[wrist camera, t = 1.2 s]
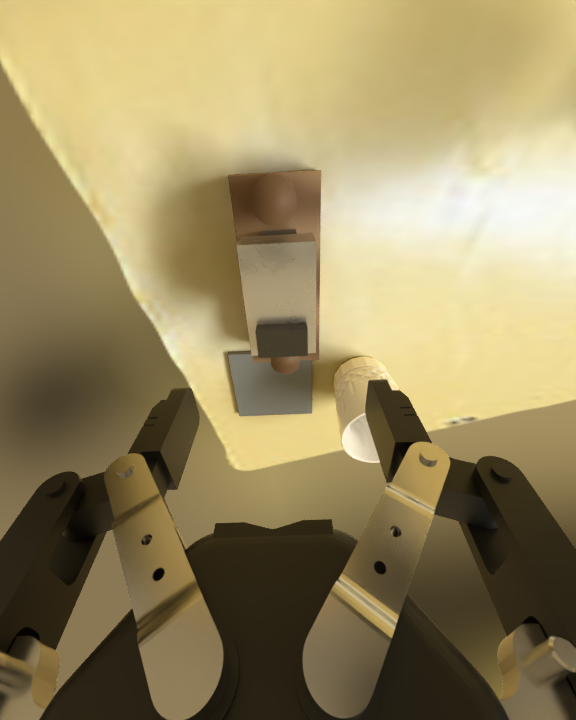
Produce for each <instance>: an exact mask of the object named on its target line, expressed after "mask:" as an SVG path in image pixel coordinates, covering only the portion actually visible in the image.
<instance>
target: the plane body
mask: <svg viewBox="0 0 576 720" xmlns="http://www.w3.org/2000/svg"><path fill="white" fill-rule="evenodd" d="M228 179H229V186H230V193H231V201H232V208H233V215H234V223H235V230H236V238H237V244H238V242H239V240H240V239H241V237H247V236H266V235H285V234H304V233H313V234H314V237H315V239H316V353H308V356H296V357H273V358H258V356H253V363H254V362H271V366H272V368H273V369H274V370H275V371H276V372H278V373H281V374H290V373H292V372H294V371H296V370H297V368H298V367H299V364H300V360H319V296H320V206H321V170H306V171H288V172H271V173H253V174H236V175H229V176H228Z"/></svg>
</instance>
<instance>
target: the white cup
mask: <svg viewBox="0 0 576 720" xmlns="http://www.w3.org/2000/svg"><path fill="white" fill-rule="evenodd" d="M380 379H386V380H387V381H388V383H389V385H390V387H391V389H392V390H400V389H399V388H398V387H397V385H396V383H395V382H394V380H393V379H392V378H391V376H390V375H389V374H388V372H387V370H386V368H385V367H384V365H383V364H382V363H380V362H379V361H378V360H376V359H375V358H370V357H364V356H362V357H357V358H352V359H350V360H348V361H347V362H345V363H343V364H342V365H341V366H340V367H339V369H338V370H337V371H336V373H335V376H334V389H335V401H336V410H337V417H338V424H339V431H340V438H341V444H342V447H343V449H344V451H345V452H346V453H347V454H348V455H349V456H351V457H353V458H354V459H357V460H359V461H364V462H371V463H376V462H380V460H379V457H378V454H377V451H376V448H375V444H374V441H373V438H372V435H371V432H370V429H369V426H368V422H367V419H366V414H365V403H366V395H367V387H368V381H369V380H380Z"/></svg>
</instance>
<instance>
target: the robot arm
mask: <svg viewBox="0 0 576 720" xmlns="http://www.w3.org/2000/svg"><path fill="white" fill-rule="evenodd" d="M365 414H366V419H367V422H368V426H369V429H370V432H371V435H372V438H373V441H374V444H375V448H376V451H377V454H378V457H379V460H380V463H381V466H382V469H383V472H384V476H385V479H386V482H387V483H389V482H391V484H390V486H387V487H386V489H385V490H384V492H383V494H382V496H381V498H380V500H379V502H378V504H377V506H376V508H375V510H374V512H373V514H372V516H371V517H370V519H369V521H368V523H367V525H366V527H365V529H364V531H363V533H362V535H361V537H360V539H359V541H358V540H357V539H355V538H354V537H352V536H351V535H349V534H347V533H345V532H342V531H340V530H337V529H333V526H332V520H331V519H330V520H303V521H300V522H296V523H293V524H290V525H286V526H283V527H280V528H277V529H269V528H265V527H260V526H256V525H252V524H248V523H244V522H243V523H216V524H215V529H214V533H213V534H210V535H207V536H205V537H203V538H201V539H200V540H198V541H196V542H195V543H193V544H192V545H191V546H189V547H188V548H186V546H185V543H184V541H183V539H182V537H181V535H180V533H179V530H178V528H177V526H176V523H175V521H174V519H173V517H172V514H171V512H170V510H169V508H168V505H167V503H166V501H165V499H164V497H165V494H166V492H167V490H175V489H178V486H179V483H180V480H181V476H182V474H183V471H184V468H185V465H186V462H187V459H188V456H189V453H190V450H191V447H192V444H193V441H194V438H195V435H196V432H197V429H198V426H199V411H198V408H197V405H196V401H195V398H194V395H193V391H192V389H191V388H174V389H172V390H171V393H170V394H169V396H168V398H167V400H161V401H160V402H159V403H158V404H157V405H156V406H155V407H154V408H152V410H151V412H150V414H149V416H148V419H146V421H145V423H144V426H143V427H142V428H141V430H140V432H139V434H138V436H137V438H136V439H135V441H134V443H133V445H132V447H131V449H130V450H129V452H128V454H127V455H124V456H121V457H119V458H118V459H116V460H115V461H113V462H112V463H111V464H110V465H109V466H108V468H107V469H106V471H105V472H102V473H99V474H96V475H93V476H89V477H86V478H83V479H81V478H80V477H79V476H78V474H76V473H75V472H63V473H59V474H57V475H55V476H53V477H51V478H49V479H48V480H46V481H45V482H44V483H43V484H42V485H41V486H39V488H38V489H37V490H36V491H35V493H34V494H33V496H32V497H31V498H30V500H29V501H28V503H27V504H26V506H25V507H24V508H23V510H22V511H21V513H20V514H19V515H18V517H17V518H16V520H15V521H14V523H13V524H12V525H11V527H10V528H9V530H8V531H7V532H6V534H5V535H4V537H3V538H2V540H1V541H0V720H576V549H575V548H574V546H573V545H572V544H571V542H570V541H569V539H568V538H567V536H566V535H565V533H564V532H563V530H562V529H561V528H560V526H559V525H558V523H557V522H556V520H555V519H554V518H553V516H552V515H551V513H550V512H549V510H548V509H547V508H546V506H545V505H544V503H543V502H542V500H541V499H540V497H539V496H538V495H537V493H536V492H535V490H534V489H533V487H532V486H531V484H530V483H529V482H528V480H527V479H526V477H525V476H524V474H523V473H522V472H521V471H520V470H519V469H518V468H517V467H516V466H515V465H513V464H512V463H511V462H508V461H507V460H504V459H502V458H499V457H494V456H486V457H482V458H481V459H479V461H478V462H477V464H474V463H470V462H465V461H461V460H456V459H453V458H450V457H448V455H447V454H446V452H444V451H443V449H441V448H440V447H438V446H437V445H435V444H432V442H431V440H430V438H429V436H428V435H427V432H426V431H425V429H424V427H423V425H422V423H421V421H420V419H419V417H418V416H417V413H416V412H415V410H414V408H413V406H412V404H411V402H410V400H409V398H408V397H407V396H406V395H405V394H403V393H402V392H401V391H400V390H392V389H391V387H390V385H389V383H388V381H387V380H386V379H380V380H369V381H368V387H367V395H366V403H365ZM434 514H435V515H439V516H442V517H446V518H450V519H453V520H457V521H459V524H460V526H461V528H462V531H463V533H464V535H465V538H466V540H467V542H468V545H469V547H470V550H471V552H472V554H473V556H474V559H475V562H476V564H477V566H478V569H479V571H480V573H481V576H482V578H483V580H484V583H485V585H486V588H487V590H488V592H489V594H490V597H491V599H492V602H493V604H494V606H495V609H496V611H497V614H498V616H499V618H500V620H501V623H502V625H503V628H504V630H505V632H506V635H507V637H506V638H505V639H504V640H503V641H502V642H501V643H500V645H499V648H498V663H499V667H500V671H501V675H502V680H503V693H502V697H501V699H500V701H499V699H498V697H497V696H496V694H495V693H494V691H493V690H492V688H491V687H490V686H489V684H488V683H487V682H486V680H485V679H484V678H483V677H482V675H481V674H480V673H479V672H478V671H477V670H476V669H475V668H474V667H473V666H472V664H471V663H470V662H469V661H468V660H467V659H466V658H465V657H464V655H463V654H462V653H461V652H460V651H459V650H458V649H457V648H456V647H455V646H454V644H453V643H452V642H451V641H450V640H449V639H448V638H447V637H446V635H445V634H444V633H443V632H442V631H441V630H440V629H439V628H438V627H437V625H436V624H435V623H434V622H433V621H432V620H431V619H430V618H429V617H428V616H427V614H426V613H425V612H424V611H423V610H422V609H421V608H420V607H419V606H418V605H417V603H416V602H415V601H414V600H413V599H412V598H411V597H410V596H409V595H408V593H407V591H408V589H409V586H410V583H411V580H412V577H413V574H414V571H415V568H416V565H417V562H418V559H419V556H420V554H421V551H422V548H423V545H424V542H425V539H426V536H427V533H428V530H429V527H430V524H431V521H432V519H433V516H434ZM109 530H113V533H114V537H115V541H116V545H117V549H118V553H119V557H120V561H121V565H122V569H123V573H124V577H125V581H126V585H127V589H128V593H129V597H130V600H131V604H132V609H131V610H130V611H129V612H128V614H127V615H126V616H125V617H124V618H123V619H122V620H121V621H120V622H119V623H118V625H117V626H116V627H115V628H114V629H113V630H112V631H111V632H110V633H109V635H108V636H107V637H106V638H105V639H104V640H103V641H102V642H101V644H100V645H99V646H98V647H97V648H96V649H95V650H94V651H93V652H92V653H91V654H90V656H89V657H88V658H87V659H86V660H85V661H84V662H83V663H82V664H81V666H80V667H79V668H78V669H77V670H76V671H75V672H74V673H73V674H72V676H71V677H70V678H69V679H68V680H67V681H66V682H65V683H64V685H63V686H62V687H61V688H60V689H59V691H58V692H57V693H56V695H55V696H54V692H55V690H56V687H57V677H58V674H59V668H60V658H59V655H58V653H57V652H56V651H55V650H56V648H57V645H58V643H59V641H60V638H61V636H62V634H63V632H64V629H65V627H66V624H67V622H68V620H69V618H70V615H71V613H72V611H73V608H74V606H75V604H76V601H77V599H78V597H79V595H80V592H81V590H82V587H83V585H84V583H85V580H86V578H87V576H88V574H89V571H90V569H91V567H92V564H93V562H94V559H95V558H96V555H97V553H98V551H99V548H100V546H101V543H102V541H103V539H104V536H105V534H106V532H107V531H109Z"/></svg>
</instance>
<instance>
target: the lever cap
mask: <svg viewBox="0 0 576 720" xmlns="http://www.w3.org/2000/svg"><path fill="white" fill-rule="evenodd" d="M236 247H237V254H238V261H239V269H240V276H241V283H242V290H243V298H244V305H245V312H246V319H247V327H248V334H249V341H250V348H251V356H258V358H273V357H296V356H308V353H316V239H315V237H314V234H313V233H304V234H285V235H266V236H247V237H241V239H240V240H239V242H238V244H237V245H236Z"/></svg>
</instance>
